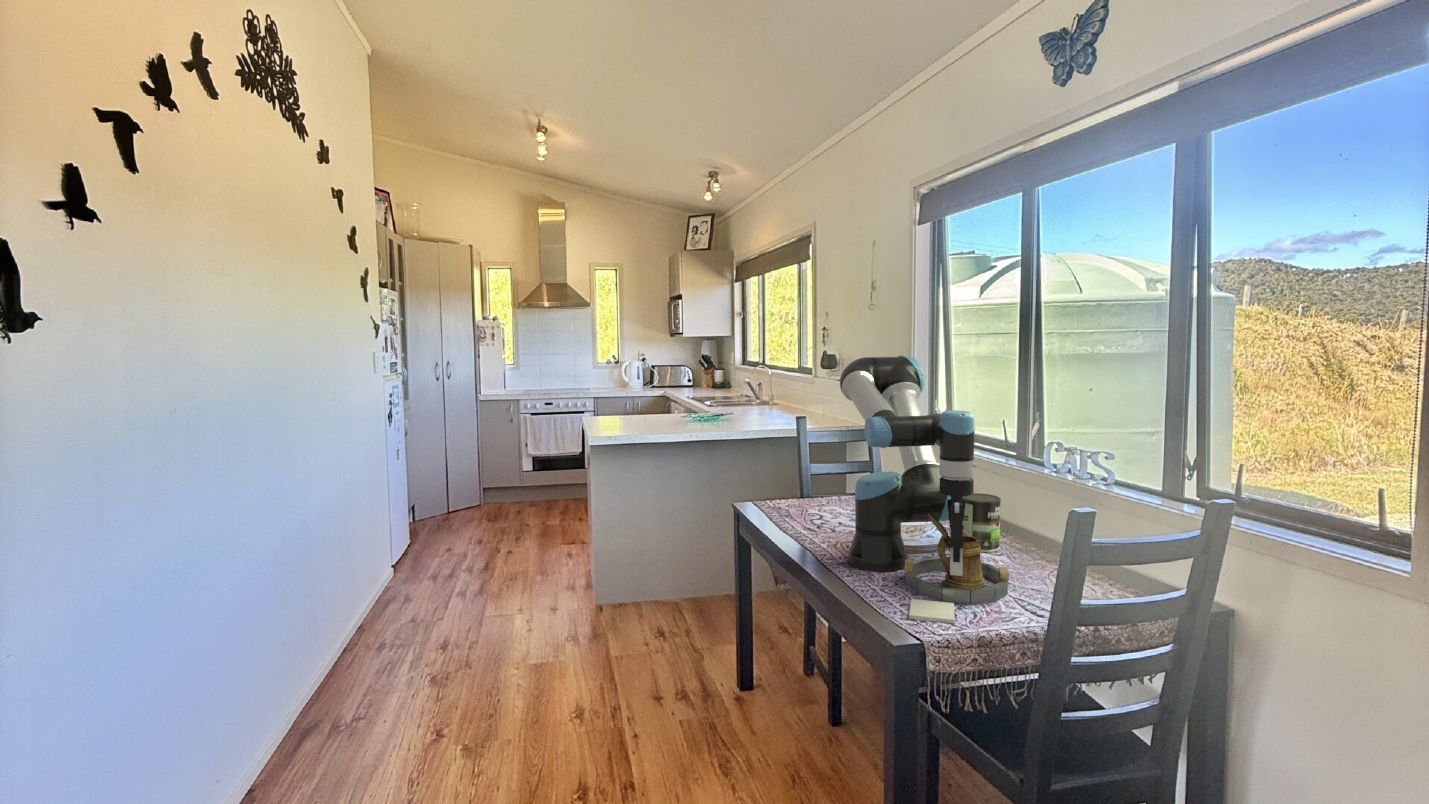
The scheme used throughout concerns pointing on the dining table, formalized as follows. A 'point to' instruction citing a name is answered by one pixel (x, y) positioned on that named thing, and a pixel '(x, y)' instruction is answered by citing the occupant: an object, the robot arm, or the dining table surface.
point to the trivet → (932, 611)
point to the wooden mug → (970, 560)
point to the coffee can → (983, 520)
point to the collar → (956, 594)
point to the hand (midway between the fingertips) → (955, 565)
